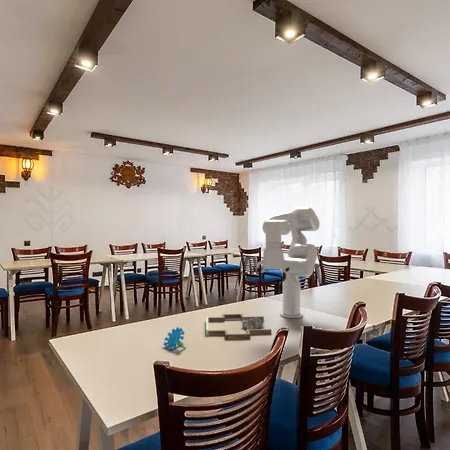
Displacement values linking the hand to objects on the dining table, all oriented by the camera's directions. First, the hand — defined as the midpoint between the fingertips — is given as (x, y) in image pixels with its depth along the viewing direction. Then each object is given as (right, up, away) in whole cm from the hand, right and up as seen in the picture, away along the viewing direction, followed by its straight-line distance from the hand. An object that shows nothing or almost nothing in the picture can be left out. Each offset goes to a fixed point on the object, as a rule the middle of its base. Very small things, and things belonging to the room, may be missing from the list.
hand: (273, 281), depth 164 cm
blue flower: (-44, -24, -25) cm, 56 cm away
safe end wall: (-32, -23, +1) cm, 40 cm away
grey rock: (-10, -23, +2) cm, 26 cm away
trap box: (-18, -23, +2) cm, 29 cm away
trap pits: (-18, -23, +2) cm, 29 cm away
